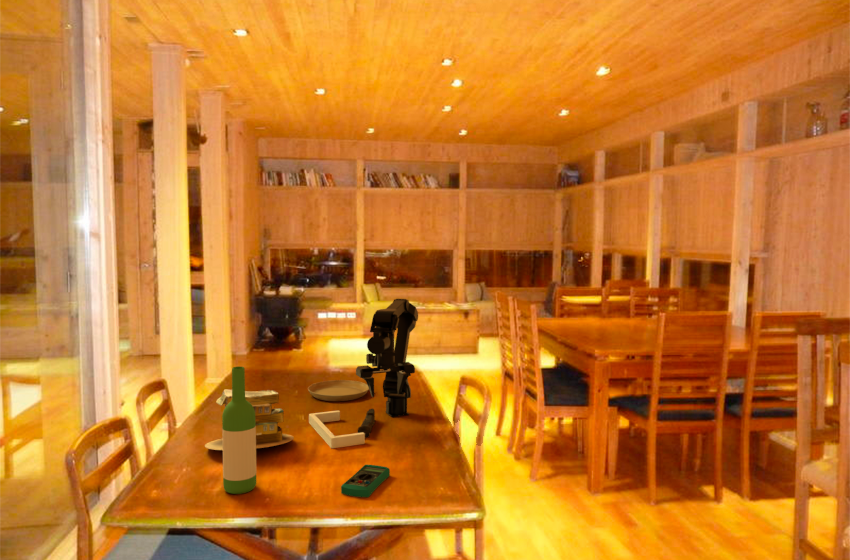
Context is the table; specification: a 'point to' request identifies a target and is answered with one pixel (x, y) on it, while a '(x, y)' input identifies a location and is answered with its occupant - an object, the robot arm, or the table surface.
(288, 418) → the table surface
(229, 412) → the wine bottle
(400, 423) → the table surface
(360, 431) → the hand tool
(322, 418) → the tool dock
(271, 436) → the plate of stacked boxes
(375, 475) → the digital multimeter
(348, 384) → the plant saucer
